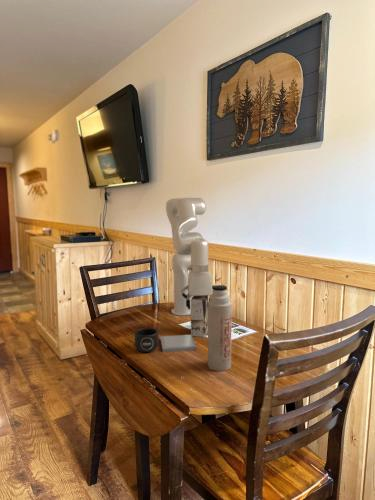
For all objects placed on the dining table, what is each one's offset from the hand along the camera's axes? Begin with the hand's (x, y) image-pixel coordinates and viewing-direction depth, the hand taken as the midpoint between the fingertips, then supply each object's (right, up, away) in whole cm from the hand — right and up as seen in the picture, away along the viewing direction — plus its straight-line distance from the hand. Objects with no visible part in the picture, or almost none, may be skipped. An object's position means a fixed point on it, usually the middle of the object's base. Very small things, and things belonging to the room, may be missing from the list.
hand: (199, 307), depth 149 cm
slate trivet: (-9, -13, -11) cm, 19 cm away
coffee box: (0, -12, +1) cm, 12 cm away
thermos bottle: (+6, -15, -30) cm, 34 cm away
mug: (-21, -14, -14) cm, 29 cm away
